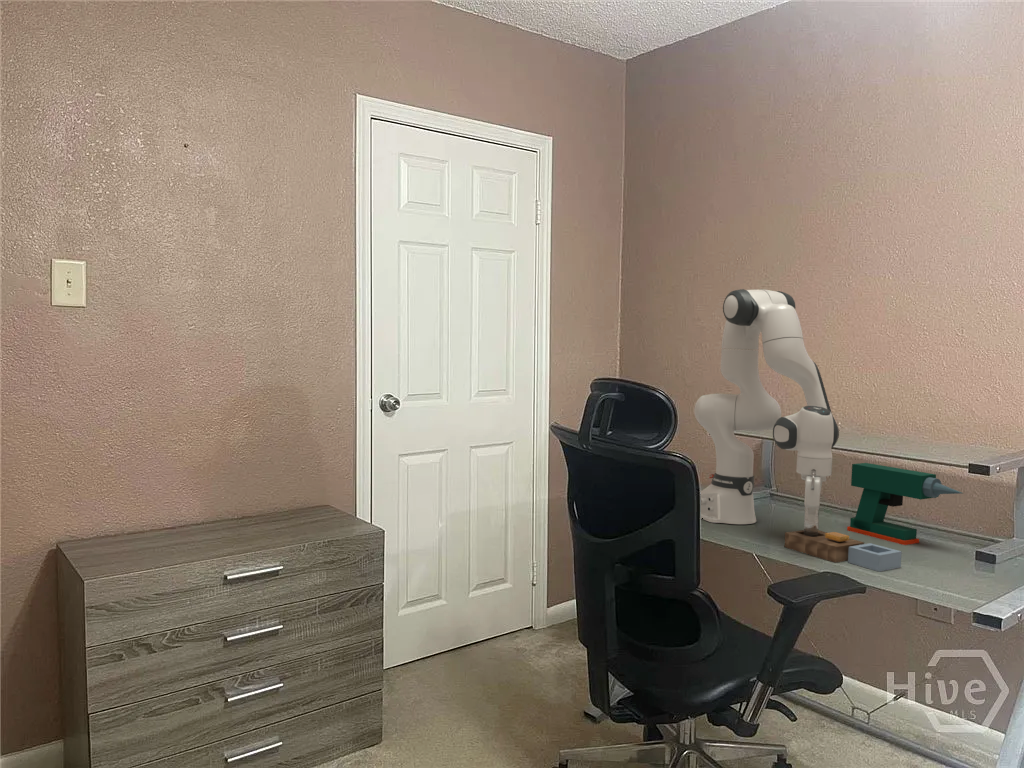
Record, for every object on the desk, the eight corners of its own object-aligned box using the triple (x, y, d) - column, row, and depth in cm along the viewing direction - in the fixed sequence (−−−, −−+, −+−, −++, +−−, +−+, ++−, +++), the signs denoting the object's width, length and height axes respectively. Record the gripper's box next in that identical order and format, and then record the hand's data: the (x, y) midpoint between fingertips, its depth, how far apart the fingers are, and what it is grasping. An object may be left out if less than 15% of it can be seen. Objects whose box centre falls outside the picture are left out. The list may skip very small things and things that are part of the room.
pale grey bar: (800, 545, 208) (802, 501, 207) (810, 544, 210) (812, 500, 209) (810, 548, 205) (812, 504, 204) (820, 547, 206) (822, 503, 206)
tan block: (824, 552, 201) (825, 533, 201) (833, 551, 203) (834, 531, 203) (839, 557, 197) (840, 537, 197) (848, 555, 199) (849, 535, 199)
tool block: (784, 547, 208) (785, 532, 208) (811, 542, 213) (812, 528, 213) (835, 562, 194) (836, 546, 194) (863, 557, 199) (864, 542, 199)
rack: (847, 562, 195) (848, 546, 194) (869, 558, 199) (870, 543, 199) (878, 571, 187) (879, 555, 187) (900, 567, 191) (901, 551, 191)
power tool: (968, 554, 206) (973, 480, 205) (953, 557, 202) (957, 482, 201) (862, 528, 233) (865, 462, 232) (847, 530, 230) (850, 463, 229)
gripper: (826, 474, 195) (824, 528, 196) (826, 463, 214) (824, 512, 215) (800, 472, 198) (797, 525, 198) (802, 461, 216) (800, 509, 217)
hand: (811, 518), depth 207 cm, fingers closed on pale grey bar, 4 cm apart
